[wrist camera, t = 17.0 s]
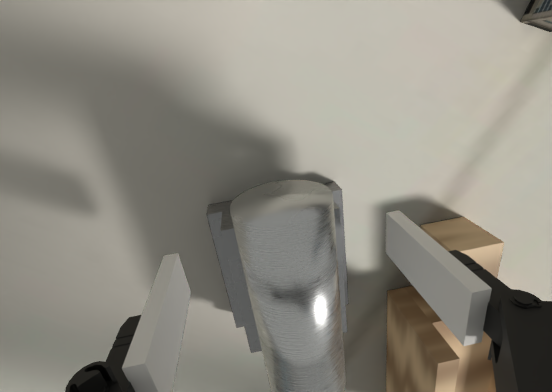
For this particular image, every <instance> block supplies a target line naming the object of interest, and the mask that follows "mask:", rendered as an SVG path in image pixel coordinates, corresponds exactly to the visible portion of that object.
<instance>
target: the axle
mask: <svg viewBox="0 0 552 392" xmlns="http://www.w3.org/2000/svg"><path fill="white" fill-rule="evenodd" d="M230 213H231V217H232V222H233V226H234V231H235V235H236V239H237V244H238V248H239V252H240V257H241V261H242V265H243V270H244V274H245V279H246V283H247V287H248V292H249V296H250V300H251V305H252V309H253V313H254V318H255V322H256V327H257V331H258V335H259V340H260V344H261V348H262V353H263V357H264V361H265V366H266V370H267V375H268V379H269V383H270V388H271V391H272V392H344V390H345V386H346V373H345V358H344V344H343V330H342V316H341V302H340V288H339V274H338V259H337V245H336V231H335V217H334V203H333V193H332V191H331V190H330V189H329V188H328V187H327V186H325V185H323V184H321V183H318V182H314V181H309V180H281V181H275V182H270V183H266V184H262V185H259V186H256V187H253V188H251V189H249V190H247V191H245V192H243V193H241V194H240V195H239V196H237V197H236V198H235V199H234V200H233V201H232V203H231V205H230Z"/></svg>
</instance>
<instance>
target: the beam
mask: <svg viewBox="0 0 552 392" xmlns="http://www.w3.org/2000/svg"><path fill="white" fill-rule="evenodd" d="M421 229H422V230H423V231H424V232H426V233H427V234H428V235H429V236H430V237H431V238H433V239H434V240H435V241H436V242H437V243H439V244H440V245H441V246H442V247H443V248H445V249H446V250H447V251H452V250H457V251H460V252H462V253H464V254H466V255H468V256H469V257H471V258H472V259H473V260H474V261H476V263H478V264H479V265H481V266H482V267H483V268H484V269H486V270H487V271H488V272H490V273H491V274H492V275H493V276H495V277H496V278H497V276H498V271H499V266H500V261H501V256H502V251H503V246H504V242H503V241H501V240H500V239H498V238H496V237H495V236H493V235H492V234H490V233H489V232H487V231H485V230H484V229H482V228H481V227H479V226H478V225H476V224H474V223H473V222H471V221H470V220H468V219H467V218H465V217H459V218H454V219H449V220H444V221H439V222H434V223H429V224H424V225H421ZM491 340H492V339H491V338H490V337H489V336H488V335H487V334H486V333H485V332H483V337H482V342H480V343H476V344H471V345H467V346H463V345H462V344H461V343H460V341H459V340H458V339H457V338H456V337H455V335H454V334H453V333H452V332H451V331H450V329H449V328H448V327H447V326H446V325H445V323H444V322H443V321H442V320H441V319H440V317H439V316H438V315H437V314H436V313H435V311H434V310H433V309H432V308H431V307H430V305H429V304H428V303H427V302H426V301H425V299H424V298H423V297H422V296H421V295H420V293H419V292H418V291H417V290H416V289H415V287H414V286H408V287H404V288H399V289H394V290H390V291H387V362H386V392H496V387H495V379H494V371H493V363H492V358H491V360H487V359H488V354H489V349H490V345H491Z"/></svg>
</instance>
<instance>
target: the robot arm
mask: <svg viewBox="0 0 552 392" xmlns="http://www.w3.org/2000/svg"><path fill="white" fill-rule="evenodd" d="M386 254H387V255H388V256H389V258H390V259H391V260H392V261H393V262H394V264H395V265H396V266H397V267H398V268H399V270H400V271H401V272H402V273H403V274H404V275H405V277H406V278H407V279H408V280H409V281H410V283H411V284H412V285H413V286H414V287H415V289H416V290H417V291H418V292H419V293H420V295H421V296H422V297H423V298H424V299H425V301H426V302H427V303H428V304H429V305H430V307H431V308H432V309H433V310H434V311H435V313H436V314H437V315H438V316H439V317H440V319H441V320H442V321H443V322H444V323H445V325H446V326H447V327H448V328H449V329H450V331H451V332H452V333H453V334H454V335H455V337H456V338H457V339H458V340H459V341H460V343H461V344H462V345H463V346H467V345H471V344H476V343H480V342H482V337H483V332H485V333H486V334H487V335H488V336H489V337H490V338H491V339H492V340H491V345H490V349H489V354H488V359H487V360H491V358H492V363H493V371H494V379H495V387H496V392H552V302H551V301H541V300H540V299H539V298H537V297H536V296H534V295H532V294H530V293H528V292H525V291H521V290H512V289H510V288H509V287H507V286H506V285H505V284H504V283H502V282H501V281H500V280H498V279H497V278H496V277H495V276H493V275H492V274H491V273H490V272H488V271H487V270H486V269H484V268H483V267H482V266H481V265H479V264H478V263H476V261H474V260H473V259H472V258H471V257H469V256H468V255H466V254H464V253H462V252H460V251H457V250H452V251H447V250H446V249H445V248H443V247H442V246H441V245H440V244H439V243H437V242H436V241H435V240H434V239H433V238H431V237H430V236H429V235H428V234H427V233H426V232H424V231H423V230H422V229H421V228H420V227H418V226H417V225H416V224H415V223H414V222H413V221H411V220H410V219H409V218H408V217H407V216H405V215H404V214H403V213H402V212H401V211H399V210H397V211H392V212H387V213H386ZM190 296H191V291H190V288H189V285H188V282H187V279H186V276H185V272H184V269H183V266H182V263H181V260H180V257H179V254H178V253H175V254H170V255H164V256H163V259H162V262H161V264H160V267H159V270H158V272H157V275H156V278H155V280H154V283H153V286H152V289H151V291H150V294H149V297H148V299H147V302H146V305H145V307H144V310H143V313H142V315H138V316H133V317H129V318H128V319H127V321H126V322H125V323H124V324H123V325H122V326H121V328H120V330H119V332H118V335H117V337H116V340H115V341H114V344H113V346H112V349H111V351H110V353H109V355H108V358H107V360H106V362H102V361H98V362H94V363H91V364H89V365H87V366H85V367H83V368H82V369H81V370H80V371H78V372H77V373H76V374H75V375H74V376H73V377H72V378H71V380H70V381H69V383H68V385H67V387H66V390H65V392H172V391H173V386H174V380H175V375H176V370H177V365H178V359H179V354H180V349H181V343H182V338H183V333H184V327H185V322H186V317H187V311H188V306H189V301H190Z"/></svg>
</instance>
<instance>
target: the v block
mask: <svg viewBox="0 0 552 392" xmlns="http://www.w3.org/2000/svg"><path fill="white" fill-rule="evenodd" d="M323 185H325V186H327V187H328V188H329V189H330V190H331V191H332V193H333V203H334V217H335V231H336V245H337V259H338V274H339V288H340V302H341V316H342V330H343V333H344V332H347V320H346V304H348V289H347V271H346V254H345V236H344V219H343V201H342V189H341V188H340V187H339V186H338V185H337V184H336V183H335V182H331V183H325V184H323ZM231 203H232V201H228V202H222V203H217V204H211V205H208V209H207V218H208V222H209V226H210V230H211V233H212V237H213V241H214V245H215V248H216V252H217V256H218V260H219V263H220V267H221V271H222V275H223V278H224V282H225V286H226V290H227V293H228V297H229V301H230V305H231V308H232V312H233V316H234V320H235V323H236V327H237V328H238V327H243V326H245V330H246V334H247V338H248V342H249V346H250V350H251V353H252V352H257V351H262V348H261V344H260V340H259V335H258V331H257V327H256V322H255V318H254V313H253V309H252V305H251V300H250V296H249V292H248V287H247V283H246V279H245V274H244V270H243V265H242V261H241V257H240V252H239V248H238V244H237V239H236V235H235V231H234V226H233V222H232V217H231V213H230V205H231Z"/></svg>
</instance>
